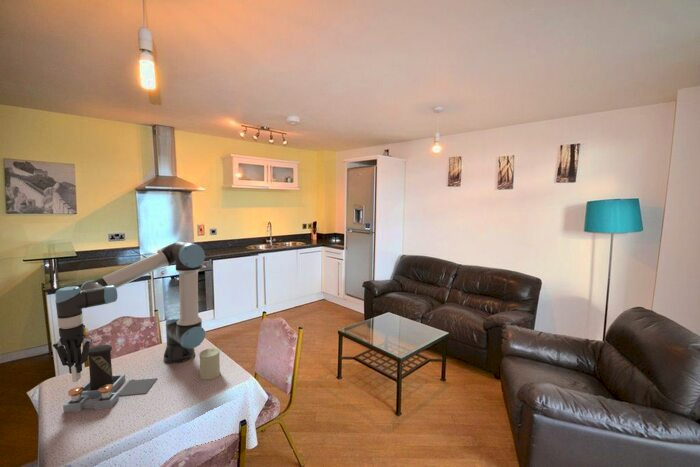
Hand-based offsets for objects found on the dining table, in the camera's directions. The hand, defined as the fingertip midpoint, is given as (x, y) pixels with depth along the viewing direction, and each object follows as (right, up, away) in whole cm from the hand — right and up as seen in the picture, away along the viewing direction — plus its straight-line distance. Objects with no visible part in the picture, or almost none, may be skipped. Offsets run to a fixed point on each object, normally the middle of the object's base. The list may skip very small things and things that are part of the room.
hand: (76, 379), depth 129 cm
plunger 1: (-1, -11, +1) cm, 11 cm away
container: (0, -11, +13) cm, 17 cm away
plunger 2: (+10, -11, +3) cm, 15 cm away
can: (+43, -10, +27) cm, 52 cm away
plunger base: (+5, -12, +2) cm, 13 cm away
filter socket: (0, -10, +13) cm, 17 cm away
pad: (+15, -10, +15) cm, 24 cm away
